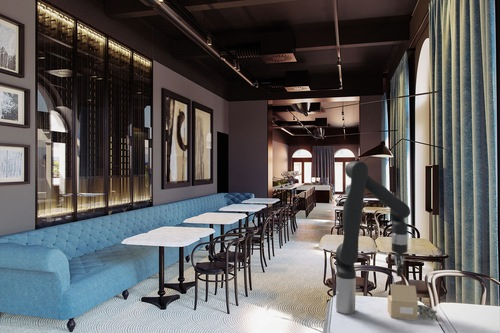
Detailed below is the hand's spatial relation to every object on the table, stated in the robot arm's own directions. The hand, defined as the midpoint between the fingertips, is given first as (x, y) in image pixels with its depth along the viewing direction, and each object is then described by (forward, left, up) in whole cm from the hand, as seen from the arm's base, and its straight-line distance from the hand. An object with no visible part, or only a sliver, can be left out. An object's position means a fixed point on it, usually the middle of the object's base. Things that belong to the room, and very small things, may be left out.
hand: (399, 276), depth 189 cm
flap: (0, -10, -5) cm, 12 cm away
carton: (0, -8, -17) cm, 19 cm away
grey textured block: (+12, -5, -17) cm, 22 cm away
